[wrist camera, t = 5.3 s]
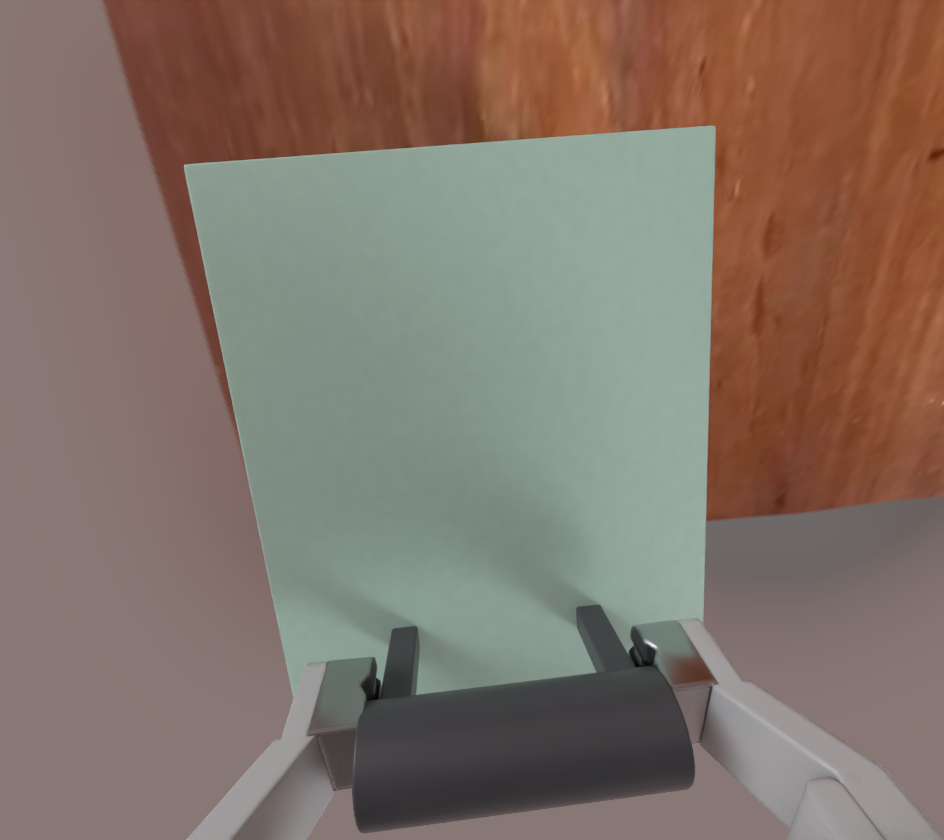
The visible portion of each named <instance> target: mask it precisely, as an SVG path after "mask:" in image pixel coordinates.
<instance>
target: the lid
mask: <svg viewBox="0 0 944 840" xmlns="http://www.w3.org/2000/svg"><path fill="white" fill-rule="evenodd" d="M715 136H716V127H715V126H699V127H685V128H672V129H658V130H645V131H631V132H618V133H604V134H591V135H577V136H563V137H550V138H536V139H523V140H509V141H496V142H482V143H469V144H455V145H441V146H428V147H414V148H401V149H387V150H374V151H360V152H346V153H333V154H319V155H306V156H292V157H279V158H265V159H252V160H238V161H224V162H211V163H197V164H186V165H184V171H185V176H186V181H187V186H188V191H189V195H190V200H191V205H192V210H193V215H194V220H195V224H196V229H197V234H198V239H199V244H200V249H201V254H202V258H203V263H204V268H205V273H206V278H207V283H208V287H209V292H210V297H211V302H212V307H213V312H214V317H215V321H216V326H217V331H218V336H219V341H220V346H221V351H222V355H223V360H224V365H225V370H226V375H227V380H228V384H229V389H230V394H231V399H232V404H233V409H234V414H235V418H236V423H237V428H238V433H239V438H240V443H241V447H242V452H243V457H244V462H245V467H246V472H247V477H248V481H249V486H250V491H251V496H252V501H253V506H254V510H255V515H256V520H257V525H258V530H259V534H260V540H261V544H262V549H263V554H264V558H265V563H266V569H267V573H268V578H269V583H270V588H271V593H272V597H273V602H274V607H275V612H276V617H277V622H278V626H279V632H280V637H281V641H282V646H283V651H284V656H285V661H286V665H287V670H288V675H289V680H290V685H291V690H292V694H293V699H294V696H295V693H296V690H297V687H298V684H299V680H300V677H301V674H302V671H303V669H304V668H305V666H306V665H307V663H314V662H323V661H332V660H343V659H354V658H366V657H375V659H376V663H377V675H376V678H378V679H379V680H380V681H381V685H382V687H381V693H380V698H379V700H371V701H367V703H366V705H365V707H364V710H363V713H362V714H361V715H360V716H359V719H358V723H357V728H356V733H355V740H354V749H353V762H352V797H353V798H352V799H353V810H354V816H355V821H356V825H357V828H358V830H359V831H360V832H362V833H371V832H379V831H386V830H393V829H400V828H408V827H414V826H423V825H430V824H437V823H445V822H452V821H459V820H467V819H473V818H481V817H489V816H496V815H504V814H511V813H518V812H526V811H532V810H540V809H547V808H555V807H562V806H569V805H577V804H584V803H592V802H599V801H606V800H614V799H621V798H628V797H636V796H643V795H649V794H657V793H665V792H673V791H680V790H686V789H689V788H690V787H691V786H692V785H693V782H694V778H695V763H694V755H693V749H692V744H691V739H690V735H689V732H688V728H687V725H686V722H685V719H684V716H683V713H682V710H681V708H680V705H679V703H678V701H677V699H676V696H675V694H674V692H673V690H672V688H671V687H670V685H669V683H668V682H667V680H666V679H665V677H664V676H663V675H662V673H661V672H660V671H659V670H658V669H656V668H654V667H652V666H645V667H637V668H636V667H635V666H634V664H633V662H632V660H631V659H630V657H629V655H628V654H629V650H630V649H631V648H632V647H633V645H634V644H633V642H632V640H631V638H630V633H631V628H632V626H633V625H639V624H646V623H654V622H661V621H669V620H681V619H689V618H698V619H699V620H700V621H701V622H702V623H703V619H704V578H705V538H706V499H707V459H708V419H709V378H710V338H711V298H712V257H713V217H714V177H715Z"/></svg>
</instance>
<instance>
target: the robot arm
mask: <svg viewBox="0 0 944 840" xmlns="http://www.w3.org/2000/svg"><path fill="white" fill-rule="evenodd" d="M630 638H631V640H632V642H633V644H634V645H633V647H632V648H631V649H630V650H629V654H628V655H629V657H630V659H631V660H632V662H633V664H634V666H635V667H636V668H637V667H645V666H652V667H654V668H656V669H658V670H659V671H660V672H661V673H662V675H663V676H664V677H665V679H666V680H667V682H668V683H669V685H670V687H671V688H672V690H673V692H674V694H675V696H676V699H677V701H678V703H679V705H680V708H681V710H682V713H683V716H684V719H685V722H686V725H687V728H688V732H689V735H690V739H691V744H694V743H701V744H700V745H701V746H702V747H703V748H704V749H705V750H706V751H707V752H708V753H709V754H710V755H711V756H712V757H713V758H714V759H715V760H716V761H718V762H719V763H720V764H721V765H722V766H723V767H724V768H725V769H726V770H727V771H728V772H729V773H730V774H731V775H732V776H733V777H734V778H736V779H737V780H738V781H739V782H740V783H741V784H742V785H743V786H744V787H745V788H746V789H747V790H748V791H749V792H750V793H751V794H753V796H755V797H756V798H757V799H758V800H759V801H760V802H761V803H762V804H763V805H764V806H765V807H766V808H767V809H768V810H769V811H770V812H772V813H773V814H774V815H775V816H776V817H777V818H778V819H779V820H780V821H781V822H782V823H783V824H784V825H785V826H786V827H787V828H788V829H789V831H788V834H787V837H786V839H785V840H944V837H943V836H942V835H941V833H940V832H939V831H938V830H937V829H936V828H935V826H934V825H933V824H932V823H931V822H930V820H929V819H928V818H927V817H926V816H925V815H924V813H923V812H922V811H921V810H920V809H919V808H918V806H917V805H916V804H915V803H914V802H913V801H912V799H911V798H910V797H909V796H908V795H907V794H906V793H905V791H904V790H903V789H902V788H901V786H900V785H899V784H898V783H897V782H896V781H895V779H894V778H893V777H892V776H891V775H890V774H889V773H888V771H887V770H886V769H885V768H884V767H883V766H881V765H880V764H878V763H877V762H875V761H874V760H872V759H871V758H869V757H867V756H866V755H864V754H863V753H861V752H860V751H858V750H857V749H855V748H854V747H852V746H850V745H849V744H847V743H846V742H844V741H843V740H841V739H840V738H838V737H836V736H835V735H833V734H832V733H830V732H829V731H827V730H826V729H824V728H823V727H821V726H819V725H818V724H816V723H815V722H813V721H812V720H810V719H809V718H807V717H806V716H804V715H802V714H801V713H800V712H798V711H796V710H795V709H793V708H792V707H790V706H789V705H787V704H786V703H784V702H783V701H781V700H779V699H778V698H776V697H775V696H773V695H772V694H770V693H769V692H767V691H766V690H764V689H762V688H761V687H759V686H758V685H756V684H755V683H753V682H752V681H743V679H742V678H741V677H740V675H739V674H738V672H737V671H736V669H735V668H734V667H733V665H732V664H731V662H730V661H729V660H728V658H727V657H726V655H725V654H724V653H723V651H722V650H721V648H720V647H719V646H718V644H717V643H716V641H715V640H714V639H713V637H712V636H711V635H710V633H709V631H708V630H707V629H706V627H705V626H704V624H703V623H702V622H701V621H700V620H699V619H698V618H689V619H681V620H669V621H661V622H654V623H646V624H639V625H633V626H632V628H631V633H630ZM376 675H377V663H376V659H375V657H366V658H354V659H343V660H332V661H323V662H314V663H307V665H306V666H305V668H304V669H303V671H302V674H301V677H300V680H299V684H298V687H297V690H296V693H295V696H294V699H293V703H292V706H291V709H290V712H289V715H288V719H287V722H286V725H285V729H284V731H283V735H282V738H281V739H280V740H274V741H273V742H272V743H271V744H270V745H269V747H268V748H267V749H266V750H265V751H264V752H263V753H262V754H261V756H260V757H259V758H258V759H257V760H256V761H255V762H254V764H253V765H252V766H251V767H250V768H249V769H248V770H247V771H246V773H245V774H244V775H243V776H242V777H241V778H240V779H239V781H238V782H237V783H236V784H235V785H234V786H233V788H231V790H230V791H229V792H228V793H227V794H226V795H225V796H224V798H223V799H222V800H221V801H220V802H219V803H218V804H217V805H216V807H215V808H214V809H213V810H212V811H211V812H210V813H209V815H208V816H207V817H206V818H205V819H204V820H203V821H202V822H201V824H200V825H199V826H198V827H197V828H196V829H195V830H194V832H193V833H192V834H191V835H190V836H189V837H188V838H187V839H186V840H307V839H308V837H309V835H310V834H311V832H312V830H313V829H314V827H315V825H316V824H317V822H318V820H319V819H320V817H321V815H322V814H323V812H324V810H325V809H326V807H327V805H328V804H329V802H330V800H331V799H332V797H333V795H334V791H336V790H342V789H349V788H352V762H353V749H354V740H355V733H356V728H357V723H358V719H359V716H360V715H361V714H362V713H363V710H364V707H365V705H366V703H367V701H371V700H379V698H380V693H381V687H382V685H381V681H380V680H379V679H378V678H376Z"/></svg>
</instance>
